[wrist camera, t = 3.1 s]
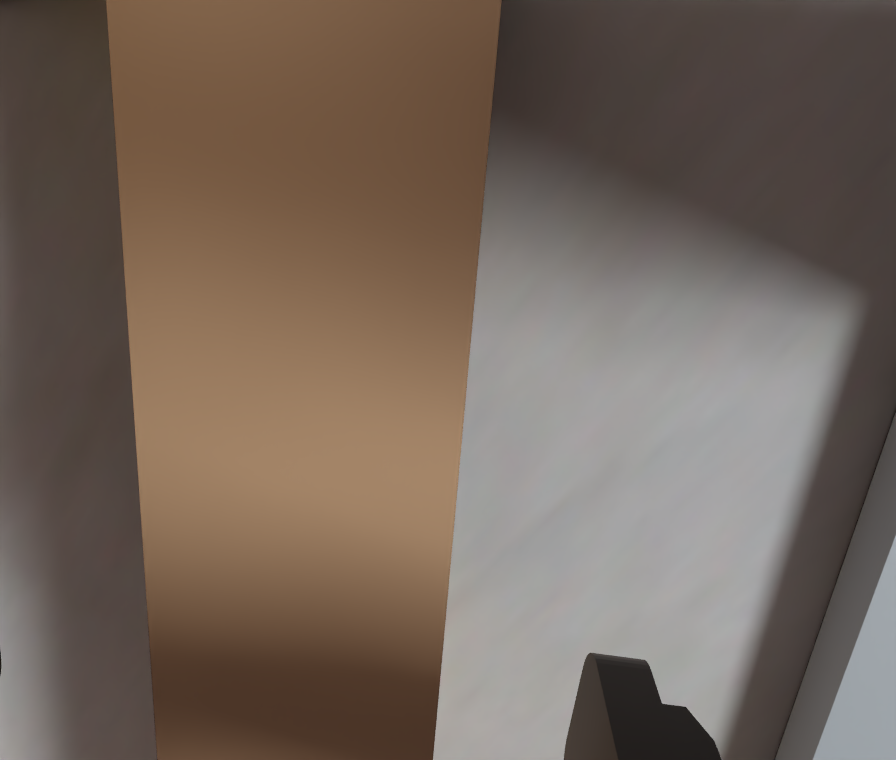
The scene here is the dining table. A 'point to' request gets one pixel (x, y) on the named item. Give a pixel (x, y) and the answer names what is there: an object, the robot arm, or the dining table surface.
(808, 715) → the stand
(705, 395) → the dining table surface
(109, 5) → the rail
